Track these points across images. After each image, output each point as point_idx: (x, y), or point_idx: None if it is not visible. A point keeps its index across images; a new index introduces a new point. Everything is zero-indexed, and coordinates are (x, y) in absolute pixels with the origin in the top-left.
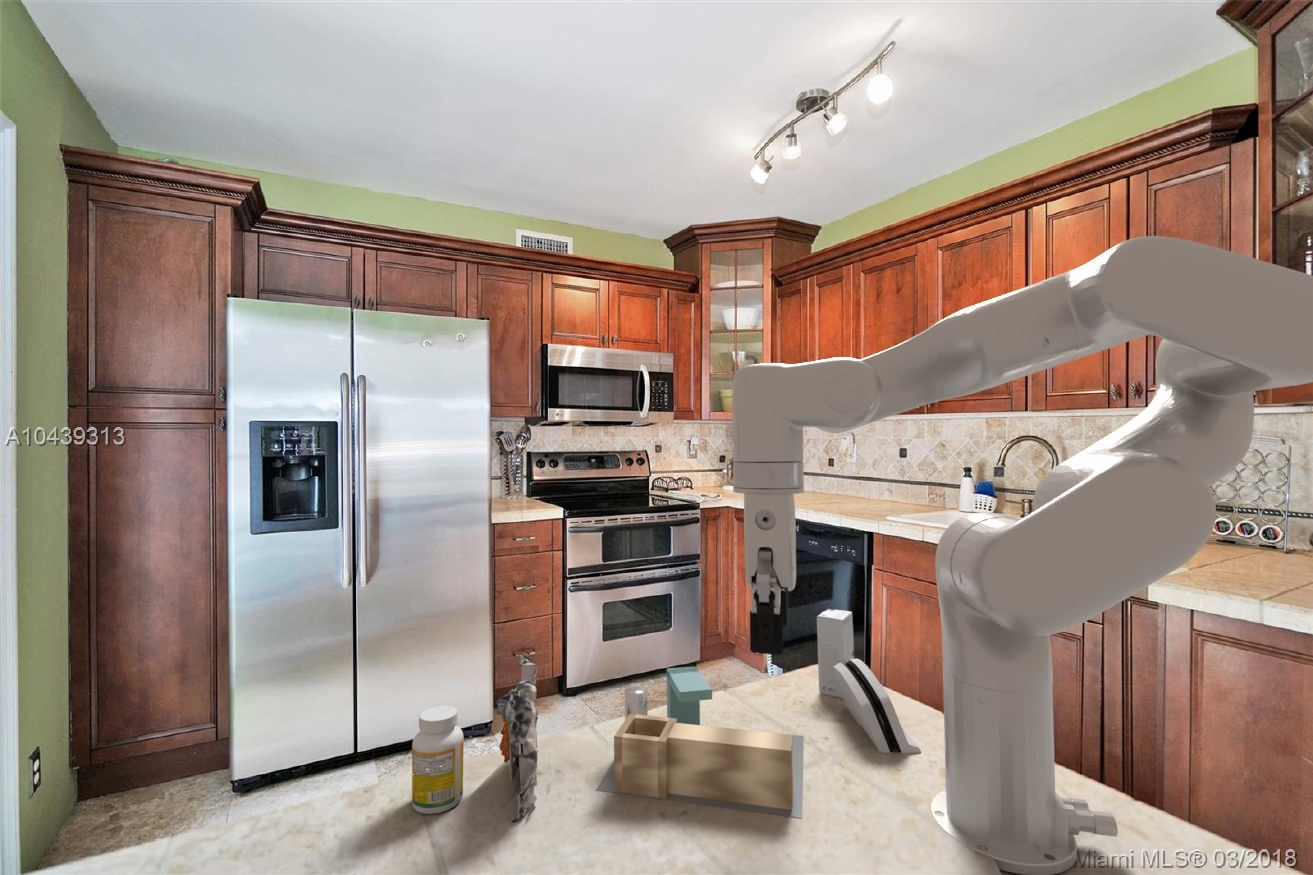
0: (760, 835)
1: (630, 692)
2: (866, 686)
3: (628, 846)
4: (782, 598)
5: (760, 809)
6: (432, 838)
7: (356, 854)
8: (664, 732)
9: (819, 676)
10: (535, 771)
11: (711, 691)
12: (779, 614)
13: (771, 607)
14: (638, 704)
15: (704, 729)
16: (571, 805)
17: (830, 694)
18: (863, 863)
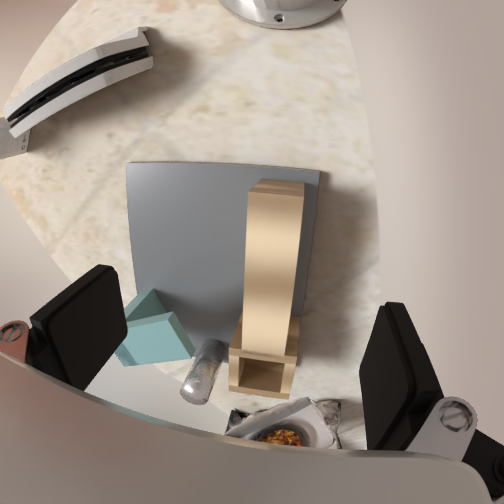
0: (333, 217)
1: (200, 400)
2: (66, 81)
3: (356, 332)
4: (64, 322)
5: (308, 219)
6: (343, 431)
7: (355, 449)
8: (271, 359)
9: (12, 155)
10: (275, 413)
11: (168, 318)
12: (463, 400)
13: (486, 440)
14: (208, 386)
15: (254, 317)
16: (300, 379)
17: (28, 139)
18: (364, 113)
